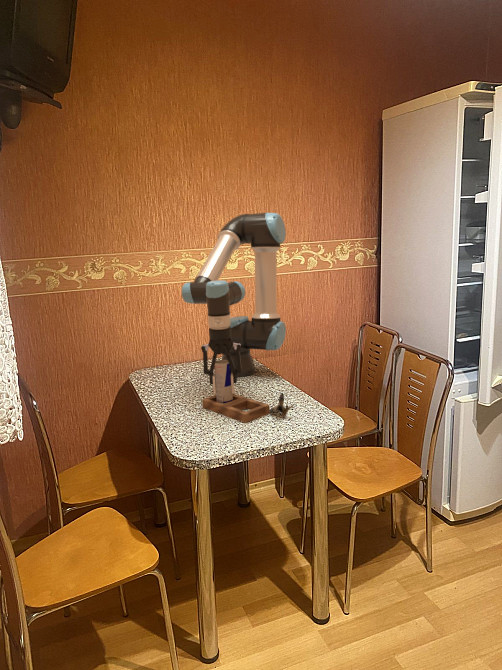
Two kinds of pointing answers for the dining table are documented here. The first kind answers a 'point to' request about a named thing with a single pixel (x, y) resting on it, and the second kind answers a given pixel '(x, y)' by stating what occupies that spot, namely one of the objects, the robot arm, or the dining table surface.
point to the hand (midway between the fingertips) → (224, 392)
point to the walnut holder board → (237, 408)
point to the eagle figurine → (281, 406)
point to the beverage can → (223, 381)
